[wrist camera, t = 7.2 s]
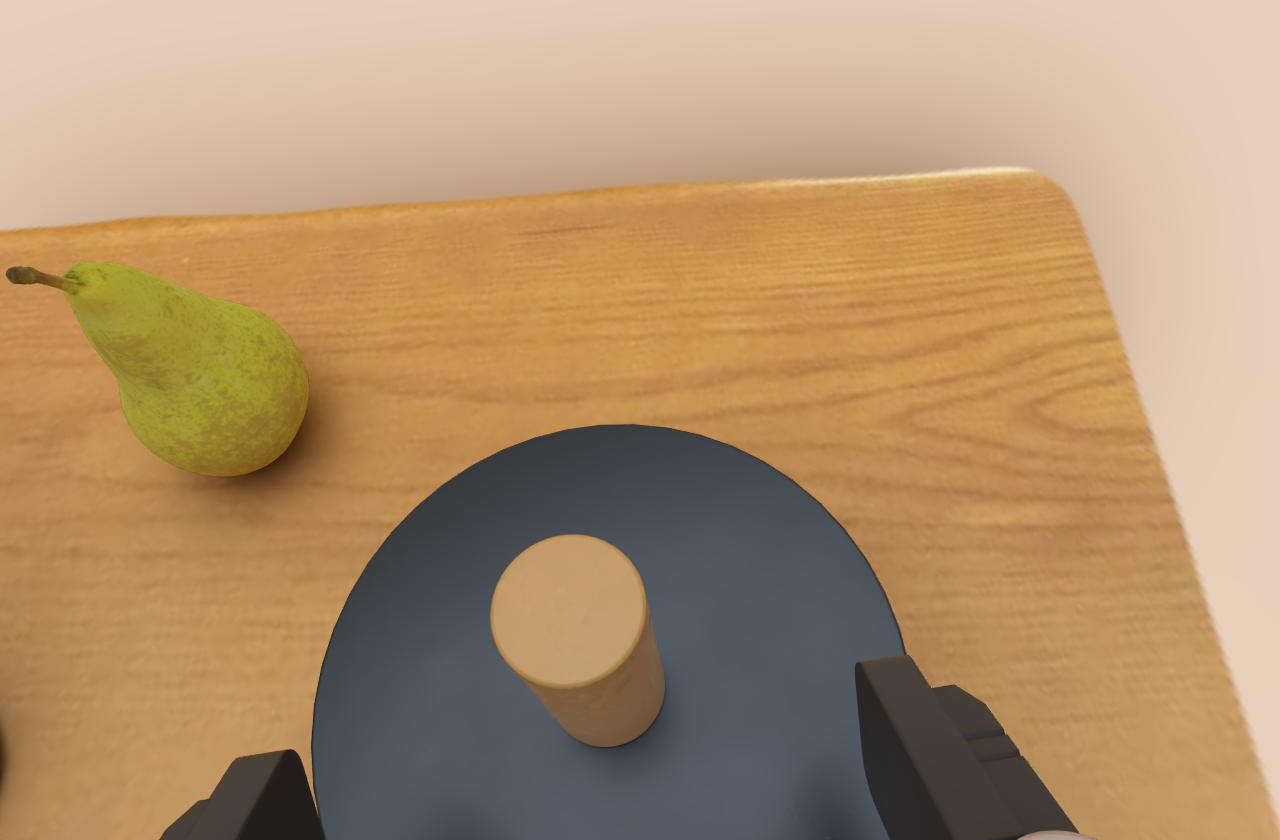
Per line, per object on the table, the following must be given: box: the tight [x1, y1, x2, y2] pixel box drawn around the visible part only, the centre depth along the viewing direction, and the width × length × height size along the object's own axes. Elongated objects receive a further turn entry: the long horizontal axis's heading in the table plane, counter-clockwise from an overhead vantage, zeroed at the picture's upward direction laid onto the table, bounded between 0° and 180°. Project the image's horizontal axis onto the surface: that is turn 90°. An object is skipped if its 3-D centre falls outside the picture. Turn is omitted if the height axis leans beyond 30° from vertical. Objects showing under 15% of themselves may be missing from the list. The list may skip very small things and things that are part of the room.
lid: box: [311, 424, 907, 840], centre depth 16 cm, size 12×12×7 cm
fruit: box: [6, 261, 309, 476], centre depth 27 cm, size 6×6×12 cm
